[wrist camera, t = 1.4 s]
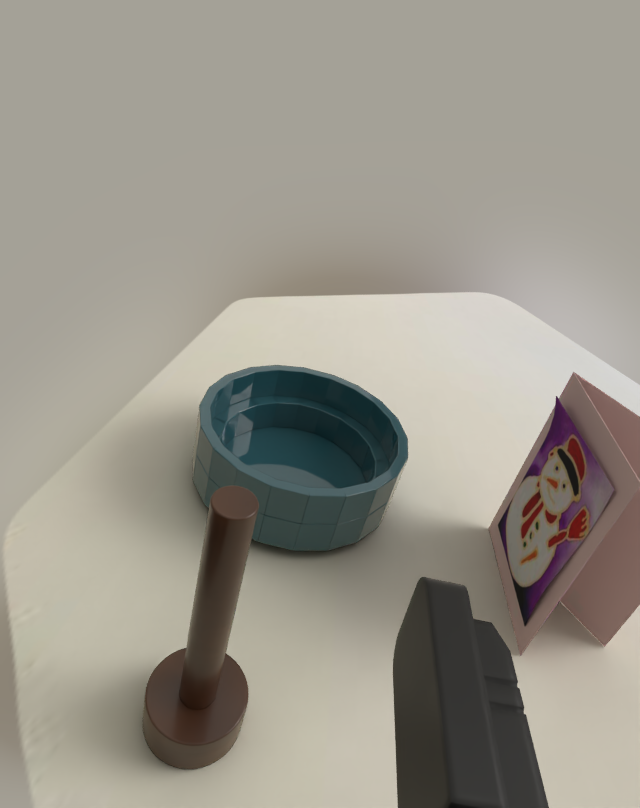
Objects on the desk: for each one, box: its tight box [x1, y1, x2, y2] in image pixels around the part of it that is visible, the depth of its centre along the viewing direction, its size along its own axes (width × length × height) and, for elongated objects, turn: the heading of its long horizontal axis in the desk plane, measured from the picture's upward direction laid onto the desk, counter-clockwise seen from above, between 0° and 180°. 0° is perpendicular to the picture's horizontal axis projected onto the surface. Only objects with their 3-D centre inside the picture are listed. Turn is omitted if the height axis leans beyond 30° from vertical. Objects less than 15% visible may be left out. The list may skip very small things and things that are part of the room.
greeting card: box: [489, 372, 640, 656], centre depth 38 cm, size 11×7×15 cm, turn 177°
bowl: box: [192, 365, 408, 551], centre depth 45 cm, size 16×16×6 cm
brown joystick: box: [142, 486, 259, 769], centre depth 26 cm, size 5×5×15 cm
